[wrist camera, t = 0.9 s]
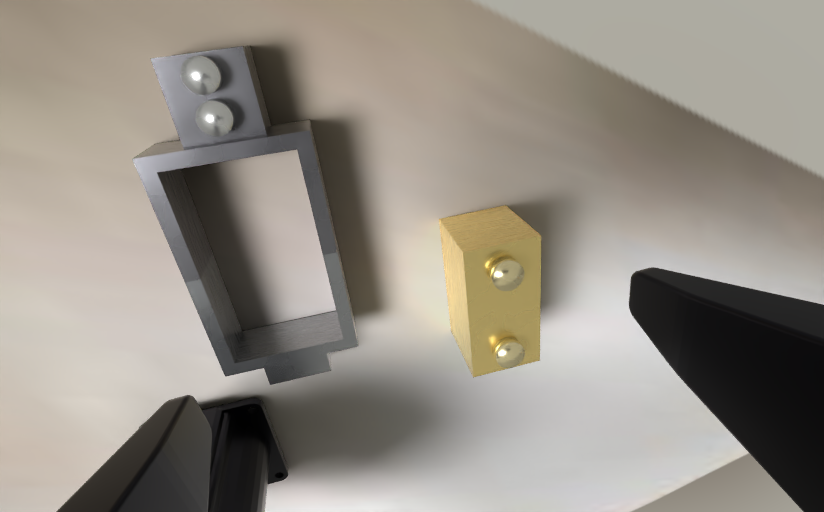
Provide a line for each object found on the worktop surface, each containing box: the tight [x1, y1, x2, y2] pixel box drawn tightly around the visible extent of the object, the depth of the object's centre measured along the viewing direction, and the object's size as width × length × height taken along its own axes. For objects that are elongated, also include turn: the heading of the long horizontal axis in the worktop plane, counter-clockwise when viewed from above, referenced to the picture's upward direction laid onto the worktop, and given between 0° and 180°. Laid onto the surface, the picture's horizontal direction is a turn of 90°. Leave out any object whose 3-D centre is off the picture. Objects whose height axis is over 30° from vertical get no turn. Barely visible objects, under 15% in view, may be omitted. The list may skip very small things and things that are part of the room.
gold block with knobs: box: [439, 205, 541, 377], centre depth 21 cm, size 7×4×5 cm, turn 7°
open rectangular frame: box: [132, 46, 358, 385], centre depth 19 cm, size 15×6×3 cm, turn 7°
